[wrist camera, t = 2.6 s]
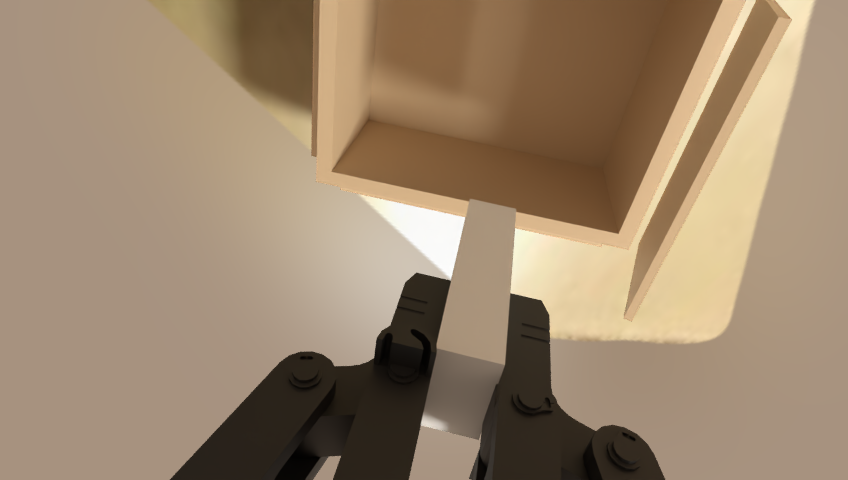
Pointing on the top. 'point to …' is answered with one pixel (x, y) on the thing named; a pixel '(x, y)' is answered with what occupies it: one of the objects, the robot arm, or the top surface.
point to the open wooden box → (512, 103)
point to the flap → (707, 142)
